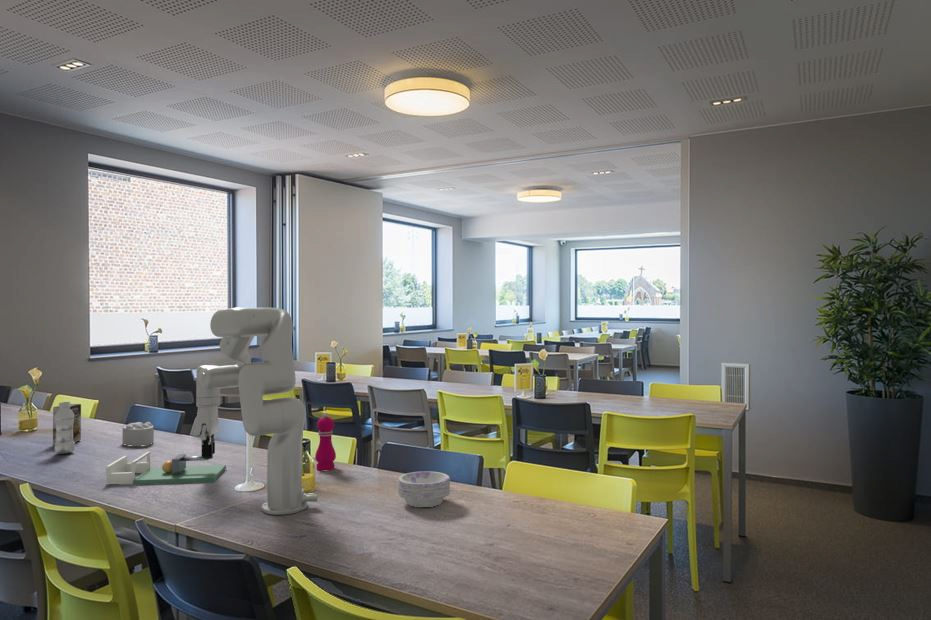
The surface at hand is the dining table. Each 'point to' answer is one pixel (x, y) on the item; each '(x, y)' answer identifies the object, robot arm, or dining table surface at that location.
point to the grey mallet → (181, 459)
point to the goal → (126, 470)
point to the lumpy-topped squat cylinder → (138, 434)
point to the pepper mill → (325, 444)
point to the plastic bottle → (64, 429)
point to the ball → (167, 466)
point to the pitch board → (181, 475)
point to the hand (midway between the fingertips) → (208, 454)
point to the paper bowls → (424, 488)
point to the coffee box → (76, 425)
